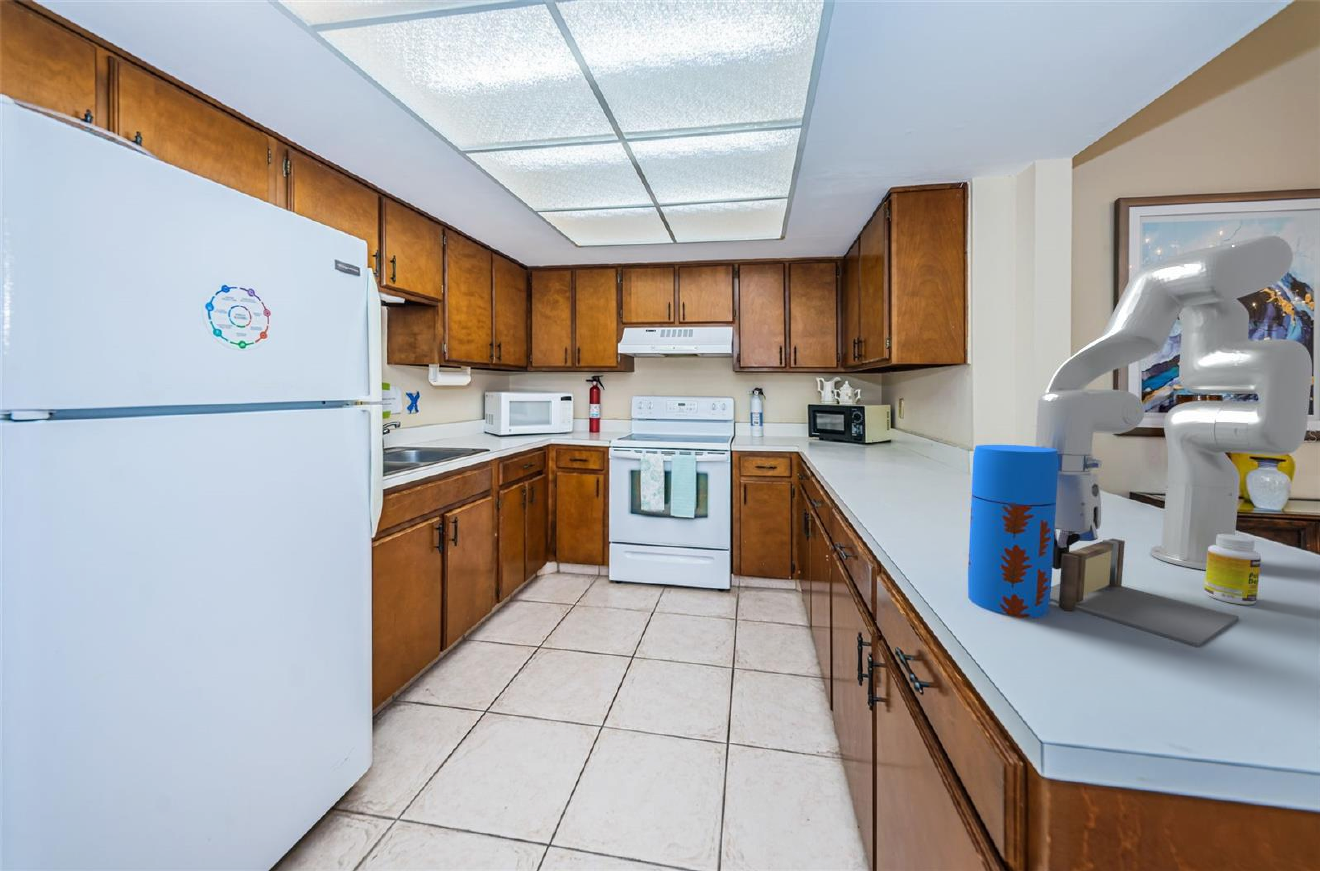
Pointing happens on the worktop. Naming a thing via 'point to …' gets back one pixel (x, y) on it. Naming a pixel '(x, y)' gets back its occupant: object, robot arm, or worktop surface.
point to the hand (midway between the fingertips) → (1055, 566)
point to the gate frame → (1139, 606)
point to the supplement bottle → (1233, 570)
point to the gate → (1096, 567)
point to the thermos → (1012, 528)
